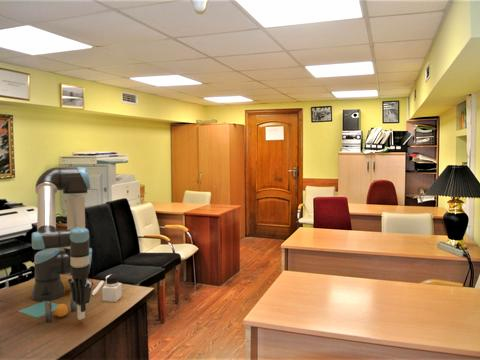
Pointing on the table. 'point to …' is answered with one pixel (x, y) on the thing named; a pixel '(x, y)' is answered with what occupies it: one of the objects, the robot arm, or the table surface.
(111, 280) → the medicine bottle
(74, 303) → the post
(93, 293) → the marker
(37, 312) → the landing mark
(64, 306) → the ball
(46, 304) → the post
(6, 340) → the table surface
